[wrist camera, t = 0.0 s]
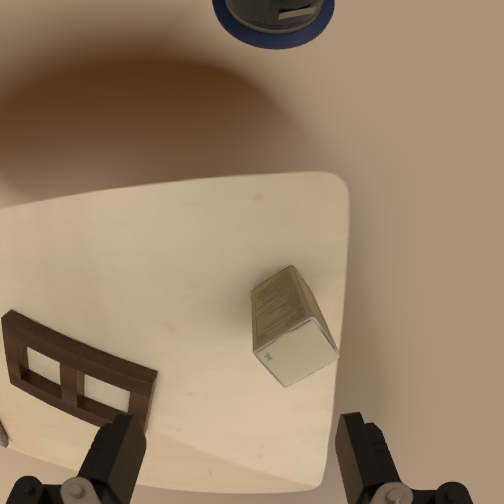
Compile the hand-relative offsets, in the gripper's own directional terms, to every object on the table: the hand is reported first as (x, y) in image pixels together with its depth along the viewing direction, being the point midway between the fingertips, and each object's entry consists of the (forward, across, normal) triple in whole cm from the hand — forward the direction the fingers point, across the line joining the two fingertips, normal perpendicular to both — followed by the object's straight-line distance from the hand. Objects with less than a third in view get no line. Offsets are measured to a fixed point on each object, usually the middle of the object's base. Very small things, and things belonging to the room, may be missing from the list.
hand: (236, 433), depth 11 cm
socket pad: (+21, +24, +16) cm, 35 cm away
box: (+21, -4, +4) cm, 22 cm away
